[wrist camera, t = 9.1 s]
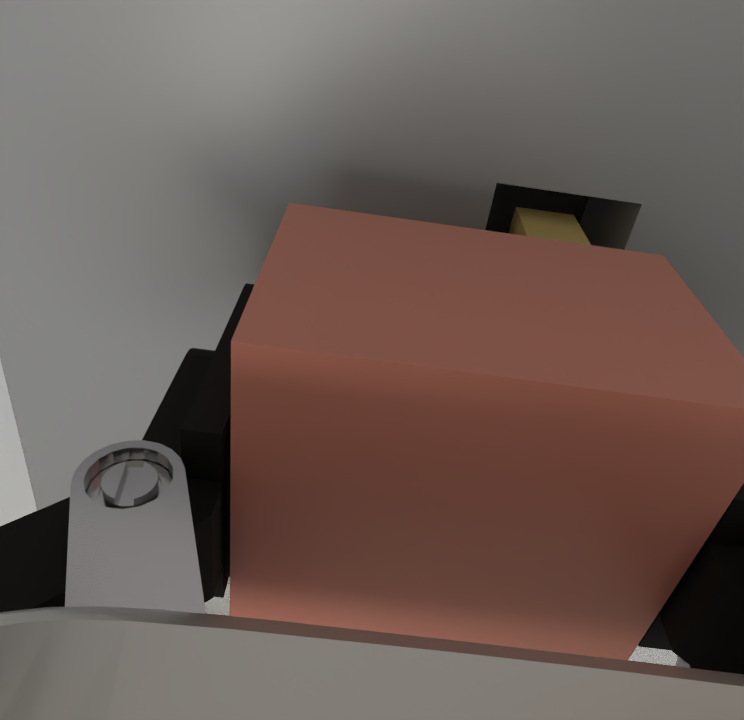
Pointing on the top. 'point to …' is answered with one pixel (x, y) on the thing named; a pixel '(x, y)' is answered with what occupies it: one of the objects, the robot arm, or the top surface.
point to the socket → (324, 163)
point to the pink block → (474, 432)
